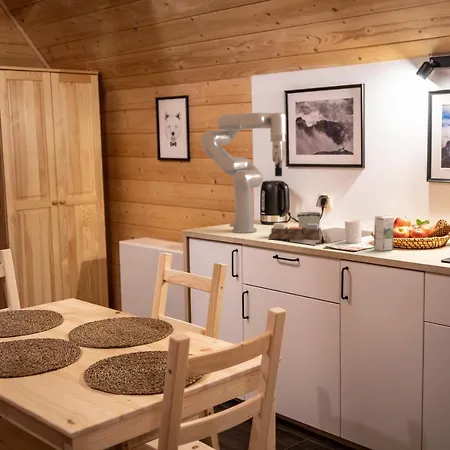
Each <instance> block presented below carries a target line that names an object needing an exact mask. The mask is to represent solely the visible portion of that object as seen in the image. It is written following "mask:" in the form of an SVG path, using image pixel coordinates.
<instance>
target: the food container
mask: <svg viewBox="0 0 450 450" xmlns="http://www.w3.org/2000/svg"><path fill="white" fill-rule="evenodd" d="M296 218H297V221H298V227H304V229H305V228H307V224H308V223H311V224H319V225H320V222H321V221H320V220H321V218H322V213H321V212H318V211H317V212H316V211H302V212H298V213H297V214H296Z"/></svg>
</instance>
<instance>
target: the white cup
mask: <svg viewBox="0 0 450 450" xmlns="http://www.w3.org/2000/svg"><path fill="white" fill-rule="evenodd" d="M363 223H364V221H363V220H362V219H345V220H344V230H345V233H344V234H345V243H347V244H361V243H362V234H363Z"/></svg>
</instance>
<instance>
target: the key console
mask: <svg viewBox="0 0 450 450" xmlns="http://www.w3.org/2000/svg"><path fill="white" fill-rule="evenodd" d="M291 227H292V226H291ZM291 227H287V226H286V228H285V229H274V226H273V227H272V228H271V232H270V234H269V236H268V237H269V239H270V240H274V239H275V240H304V239H306V240H307V241H308V240H309V241H310V240H311V241H312V240H315V241H319V240H321V239H322V238H323V232H322V229H321V227H319V229H307V228H305V229H304V227H302V229H290V228H291Z"/></svg>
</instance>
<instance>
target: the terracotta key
mask: <svg viewBox="0 0 450 450" xmlns="http://www.w3.org/2000/svg"><path fill="white" fill-rule="evenodd" d="M289 228H290V227H289ZM290 229H302V227H299V226H291V228H290Z"/></svg>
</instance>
